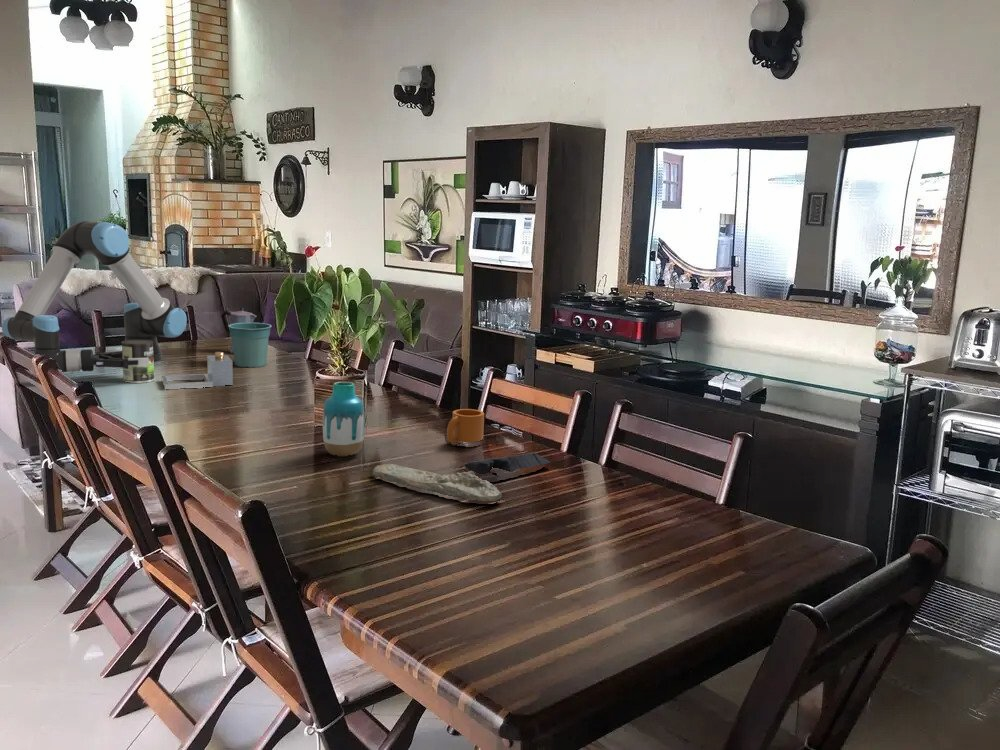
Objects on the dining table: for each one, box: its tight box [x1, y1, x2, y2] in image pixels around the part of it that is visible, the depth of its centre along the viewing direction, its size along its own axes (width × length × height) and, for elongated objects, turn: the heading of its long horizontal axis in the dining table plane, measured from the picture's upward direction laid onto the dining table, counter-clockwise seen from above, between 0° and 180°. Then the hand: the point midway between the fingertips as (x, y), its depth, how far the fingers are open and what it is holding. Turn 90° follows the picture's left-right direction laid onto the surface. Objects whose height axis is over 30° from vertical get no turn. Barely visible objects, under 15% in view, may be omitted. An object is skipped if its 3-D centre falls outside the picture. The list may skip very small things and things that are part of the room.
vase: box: [322, 381, 365, 457], centre depth 210 cm, size 11×11×19 cm
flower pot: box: [228, 322, 272, 369], centre depth 323 cm, size 16×16×16 cm
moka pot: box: [221, 306, 257, 355], centre depth 348 cm, size 10×15×20 cm, turn 89°
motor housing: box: [161, 351, 234, 391], centre depth 286 cm, size 15×22×11 cm
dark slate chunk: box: [465, 452, 551, 474], centre depth 205 cm, size 15×22×5 cm
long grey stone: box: [372, 463, 503, 501], centre depth 188 cm, size 35×5×10 cm
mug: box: [446, 408, 485, 442], centre depth 226 cm, size 9×12×9 cm
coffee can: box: [120, 340, 155, 384], centre depth 288 cm, size 10×10×14 cm
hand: (147, 358), depth 289 cm, fingers open, 13 cm apart
